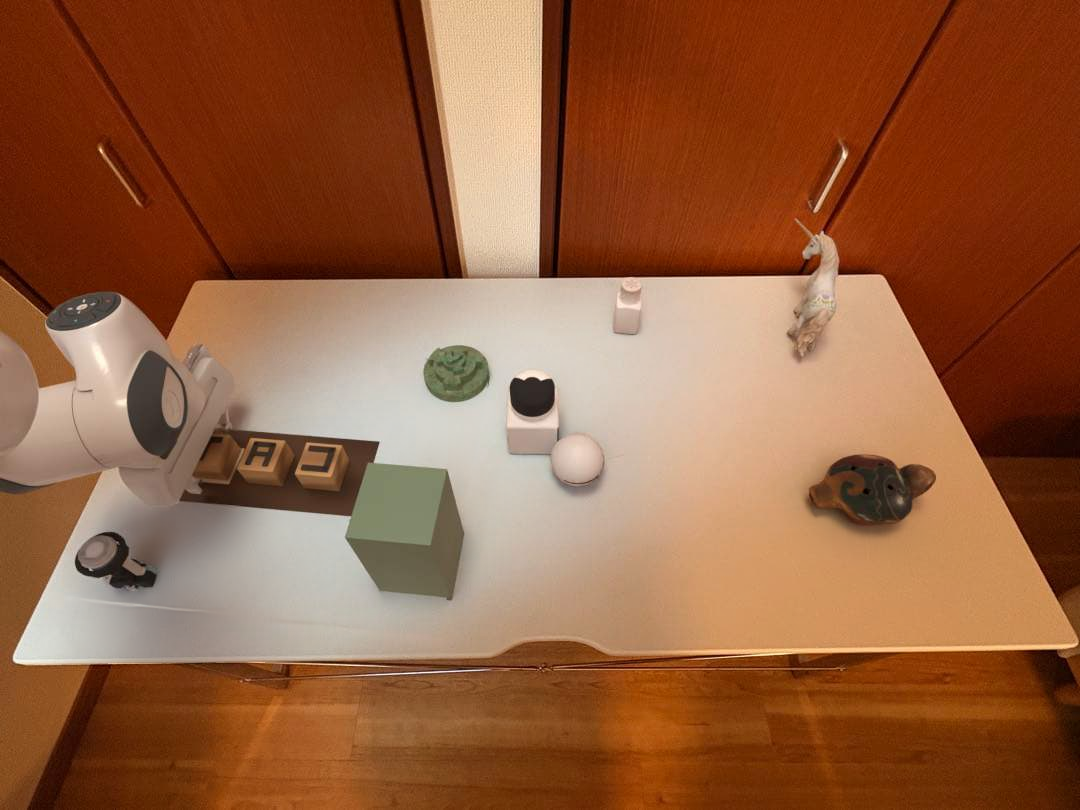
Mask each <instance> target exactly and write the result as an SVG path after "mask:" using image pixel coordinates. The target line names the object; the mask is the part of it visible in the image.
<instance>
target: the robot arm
mask: <svg viewBox="0 0 1080 810" xmlns="http://www.w3.org/2000/svg"><path fill="white" fill-rule="evenodd" d="M44 326H45V330H46V332H47V333H48V335H49V337H50V339H51V340H52V341H53V343H54V344H55V346H56V347H57V349H58V350H59V351H60V352H61V354H62V355H63V356H64V358H65V359H66V360H67V361H68V363H70V365H71V366H72V367H73V368H74V371H75V376H76V377H75V380H74V379H73V380H70V381H66V382H60V383H57V384H53V385H48V386H44V387H40V386H39V381H38V378H37V377H38V376H37V373H36V371H35V368H34V366H33V364H32V362H31V360H30V358H29V356H28V355H27V353H26V352H25V350H24V349H23V348H22V347H21V346H20V345H19V344H18V343H17V342H16V341H15V340H14V339H13V338H11V337H10V336H8V335H7V334H6V333H4V332H3V331H1V330H0V492H2V493H5V494H9V495H23V494H28V493H32V492H34V491H38V490H40V489H44V488H47V487H49V486H53V485H56V484H57V483H62V482H65V481H69V480H74V479H77V478H81V477H85V476H89V475H94V474H97V473H101V472H106V471H109V470H114V469H116V468H118V473H119V478H120V479H121V481H122V483H124V485H125V486H126V487H127V488H128V489H129V490H130V491H131V493H133V494H134V496H136V497H137V498H138V499H139V500H140V501H141V502H142V503H144V504H145V505H148V506H153V507H161V508H163V507H164V508H167V507H173V506H177V504H179V502H180V501H179V500H180V498H181V496H182V494H183V492H184V490H185V489H186V490H187V491H188V492H189V493H193V494H201V492H202V490H203V488H204V485H205V483H203V481H202V480H201V479H199V478H195V479H193V478H191V476H192V474H193V472H194V470H195V468H196V466H197V464H198V462H199V460H200V458H201V456H202V454H203V452H204V450H205V447H206V445H207V443H208V441H209V439H210V437H211V435H212V433H213V431H214V430H215V431H216V433H217V434H222V435H224V434H225V435H229V433H230V431H231V429H232V430H233V426H234V425H233V424H232V423H231V421H230V415H229V408H228V406H227V405H228V403H229V402H230V399H231V397H232V395H233V393H234V391H235V389H236V382H235V377H234V376H233V375H232V373H231V372H230V371H229V370H228V369H227V367H225V365H224V364H223V363H222V362H220V360H218V359H217V358H215V357H214V356H213V354H212V353H211V351H210V350H209V347H208V346H206V345H204V344H201V343H199V344H196V345H195V346H191V347H190V348H189V349H188V351H187V352H186V356H185V358H184V359H183V360H180V359H179V358H178V357H176V356H174V354H173V353H172V349H171V347H170V344H169V342H168V341H167V339H166V338H165V337H164V335H163V334H162V333H161V332H160V330H159V329H158V328H157V327H156V325H155V324H154V323H153V322H152V321H151V319H149V318H148V317H147V315H146V314H145V313H144V311H142V310H141V309H140V308H139V307H138V306H137V305H136V304H135V303H133V302H132V301H131V300H130V299H128V298H127V297H125V296H124V295H122V294H120V293H118V292H115V291H97V292H91V293H86V294H83V295H78V296H75V297H72V298H70V299H68V300H66V301H65V302H63V303H60V304H59V305H58V306H56V307H55V308H54V309H53V310H52V311H51V312H50V313H48V315H47V317H46V319H45V321H44Z"/></svg>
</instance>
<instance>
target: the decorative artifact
mask: <svg viewBox="0 0 1080 810" xmlns="http://www.w3.org/2000/svg"><path fill="white" fill-rule="evenodd" d="M422 374H423V379H424V383H425V386H426V388H427V390H428V391H429V393H430V394H431V395H432V396H434V397H435V398H436V399H438V400H440V401H444V402H448V403H460V402H465V401H466V402H467V401H468V400H471V399H474V398H475V397H477V396H478V395H479V394H480V393H482V392H483V391H484V390H485V388H489V385H490V380H491V378H490V368H489V362H488V360H487V358H486V356H485V355H484V354H483V353H482V352H480V351H479V350H478V349H477V348H474V347H472V346H468V345H463V344H456V345H455V344H454V345H449V346H445V347H442V348H440V347H437V348H436V349H434V351H432V353H431V354H430V355H429V357H428V359H427V360H426V362H425V364H424V366H423V373H422Z"/></svg>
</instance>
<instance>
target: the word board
mask: <svg viewBox="0 0 1080 810" xmlns="http://www.w3.org/2000/svg"><path fill="white" fill-rule="evenodd" d="M212 434H217V433H216V431H215V430H214V431H213V433H212ZM224 435H225V434H224ZM229 435H230V436H231V437H232V438H233V439H234V441H235V442H236V443H237V445H238V446H239V447H240V449H241V450H242V451H241V453H240V455H239V458H238V460H237V462H236V464H235V466H234V469H233V471H232V473H231V475H230V477H229V479H228V480H216V479H205V478H199V479H201V480H202V481H203V483H205V485H204V488H203V490H202V492H201V494H193V493H189V492H188V491H187V490H186V489H185V490H184V492H183V494H182V496H181V498H180V500H179V502H186V503H198V504H207V505H208V504H209V505H218V506H219V505H220V506H230V507H241V508H253V509H263V510H264V509H265V510H275V511H286V512H287V511H288V512H297V513H307V514H319V515H328V516H329V515H331V516H339V517H340V516H342V517H351V516H352V513H353V509H354V506H355V503H356V500H357V496H358V493H359V490H360V487H361V483H362V480H363V477H364V474H365V470H366V467H367V464H368V463H375V460H376V456H377V453H378V449H379V446H380V443H381V441H378V440H367V439H366V440H365V439H353V438H342V437H341V438H340V437H329V436H317V435H316V436H315V435H303V434H293V433H280V432H269V431H268V432H267V431H257V430H243V429H233V428H232V429H231V431H230V433H229ZM250 438H258V439H270V440H283V441H286V443H287V444H288V446H289V447H290V449H291V450H292V452H293V454H294V455H295V456H294V459H293V462H292V464H291V467H290V469H289V472H288V474H287V477H286V479H285V482H284V485H283V486H275V485H264V484H252V483H248V482H247V481H246V480H245V478H244V477H243V476H242V475H241V473H240V472H239V471H238V470H237V467H238V465H239V463H240V460H241V458H242V456H243V454H244V452H245V449H246V447H247V445H248V443H249V441H250ZM306 443H320V444H332V445H342V447H343V449H344V451H345V453H346V455H347V457H348V458H349V463H348V466H347V469H346V472H345V475H344V478H343V481H342V484H341V487H340V490H339V491H331V490H320V489H309V488H304V487H303V486H302V484H301V483H300V481H299V480H298V478H297V477H296V475H295V472H296V469H297V466H298V464H299V461H300V459H301V456H302V453H303V451H304V448H305V446H306ZM191 478H193V479H195V478H194V477H193V476H191Z"/></svg>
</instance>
